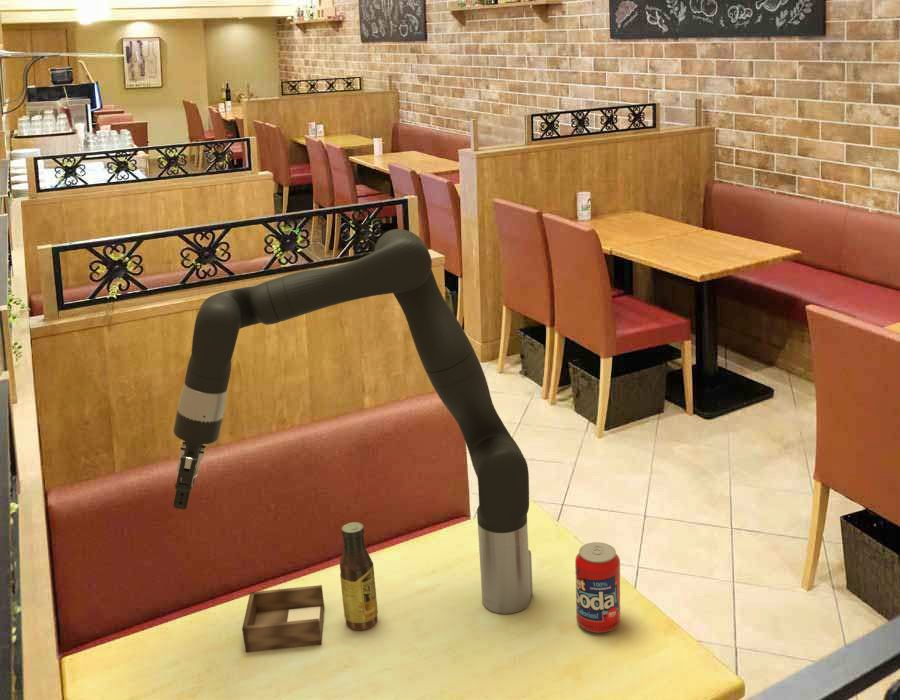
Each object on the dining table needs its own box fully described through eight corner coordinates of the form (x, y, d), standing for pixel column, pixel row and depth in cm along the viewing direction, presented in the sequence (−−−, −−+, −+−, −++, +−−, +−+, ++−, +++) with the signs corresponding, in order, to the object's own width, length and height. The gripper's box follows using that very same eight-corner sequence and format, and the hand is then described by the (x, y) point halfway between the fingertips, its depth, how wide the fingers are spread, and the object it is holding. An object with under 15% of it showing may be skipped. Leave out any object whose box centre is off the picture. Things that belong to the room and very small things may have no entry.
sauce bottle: (373, 633, 169) (363, 538, 163) (341, 631, 170) (329, 536, 164) (382, 612, 175) (373, 519, 169) (351, 610, 176) (340, 518, 170)
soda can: (623, 613, 170) (623, 542, 165) (616, 639, 163) (616, 565, 158) (581, 607, 173) (579, 537, 168) (572, 632, 166) (571, 560, 161)
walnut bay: (324, 607, 178) (321, 585, 176) (321, 644, 167) (318, 621, 165) (253, 614, 177) (250, 592, 175) (245, 652, 166) (242, 628, 165)
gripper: (218, 430, 149) (200, 519, 153) (227, 400, 163) (209, 482, 167) (171, 422, 148) (154, 511, 152) (184, 392, 161) (167, 475, 165)
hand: (183, 496), depth 159 cm, fingers open, 8 cm apart
